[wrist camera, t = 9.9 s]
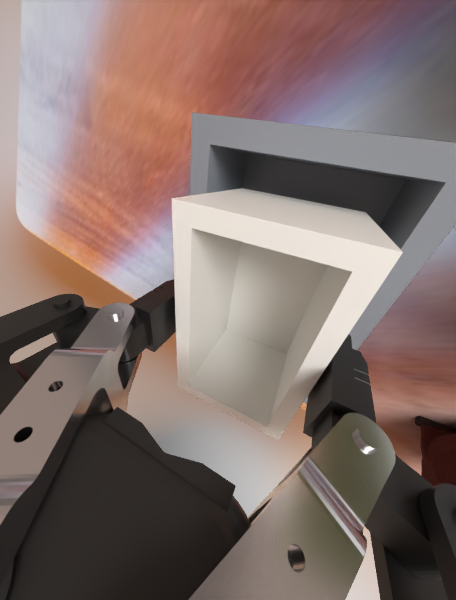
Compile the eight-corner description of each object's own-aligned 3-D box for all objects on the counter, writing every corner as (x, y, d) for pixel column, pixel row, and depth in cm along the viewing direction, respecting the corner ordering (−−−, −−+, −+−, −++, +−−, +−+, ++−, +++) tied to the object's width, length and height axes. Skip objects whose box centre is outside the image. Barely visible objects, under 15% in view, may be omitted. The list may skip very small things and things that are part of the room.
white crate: (221, 326, 16) (177, 387, 12) (242, 188, 11) (171, 198, 6) (294, 356, 15) (277, 440, 10) (365, 212, 9) (403, 252, 4)
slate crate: (217, 308, 22) (185, 343, 17) (242, 134, 13) (192, 112, 9) (318, 350, 19) (312, 406, 14) (435, 161, 10) (514, 149, 6)
